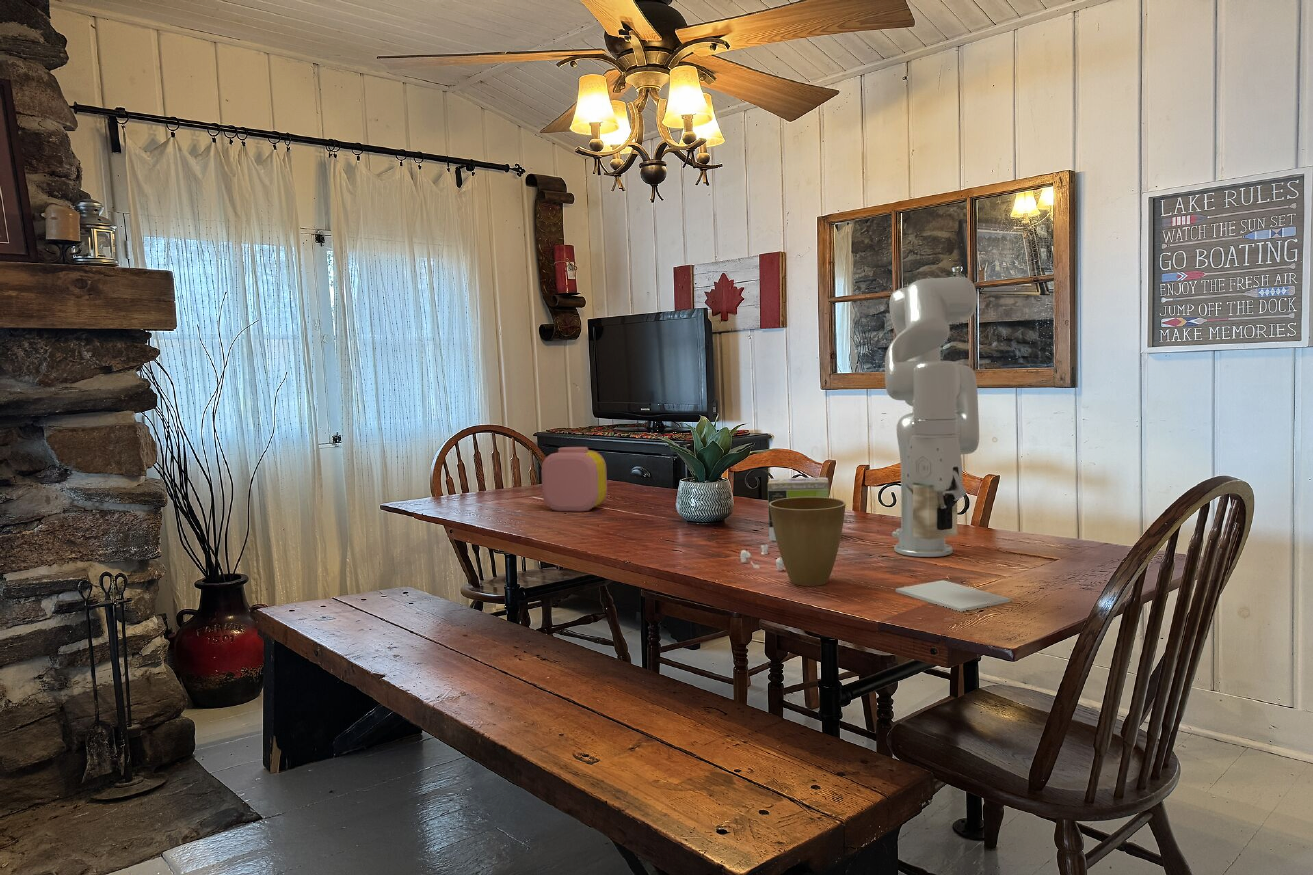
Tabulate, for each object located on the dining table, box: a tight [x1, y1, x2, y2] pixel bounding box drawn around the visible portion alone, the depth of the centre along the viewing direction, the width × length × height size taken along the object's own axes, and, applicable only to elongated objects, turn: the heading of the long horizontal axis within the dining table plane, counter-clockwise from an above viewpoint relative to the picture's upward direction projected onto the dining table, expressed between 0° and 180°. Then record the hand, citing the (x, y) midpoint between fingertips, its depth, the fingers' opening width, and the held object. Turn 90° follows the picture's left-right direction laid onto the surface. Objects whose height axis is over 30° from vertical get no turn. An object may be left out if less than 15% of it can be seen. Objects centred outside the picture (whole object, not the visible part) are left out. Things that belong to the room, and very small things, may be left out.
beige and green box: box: [913, 483, 958, 540], centre depth 160 cm, size 4×7×10 cm, turn 117°
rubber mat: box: [895, 579, 1011, 613], centre depth 158 cm, size 16×12×1 cm
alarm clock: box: [540, 446, 608, 513], centre depth 270 cm, size 18×11×19 cm, turn 74°
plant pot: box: [769, 497, 847, 587], centre depth 171 cm, size 15×15×16 cm
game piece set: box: [739, 544, 785, 572], centre depth 191 cm, size 19×20×4 cm
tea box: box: [767, 476, 830, 542], centre depth 216 cm, size 15×10×15 cm, turn 80°
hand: (935, 526), depth 161 cm, fingers closed on beige and green box, 4 cm apart
